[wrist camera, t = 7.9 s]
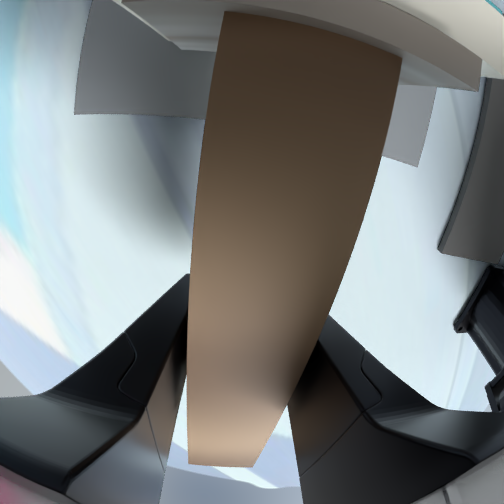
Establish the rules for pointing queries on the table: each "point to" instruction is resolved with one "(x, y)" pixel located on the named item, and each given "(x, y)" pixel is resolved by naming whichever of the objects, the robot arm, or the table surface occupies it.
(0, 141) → the table surface
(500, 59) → the tile
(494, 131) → the rest
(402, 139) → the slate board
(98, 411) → the robot arm
